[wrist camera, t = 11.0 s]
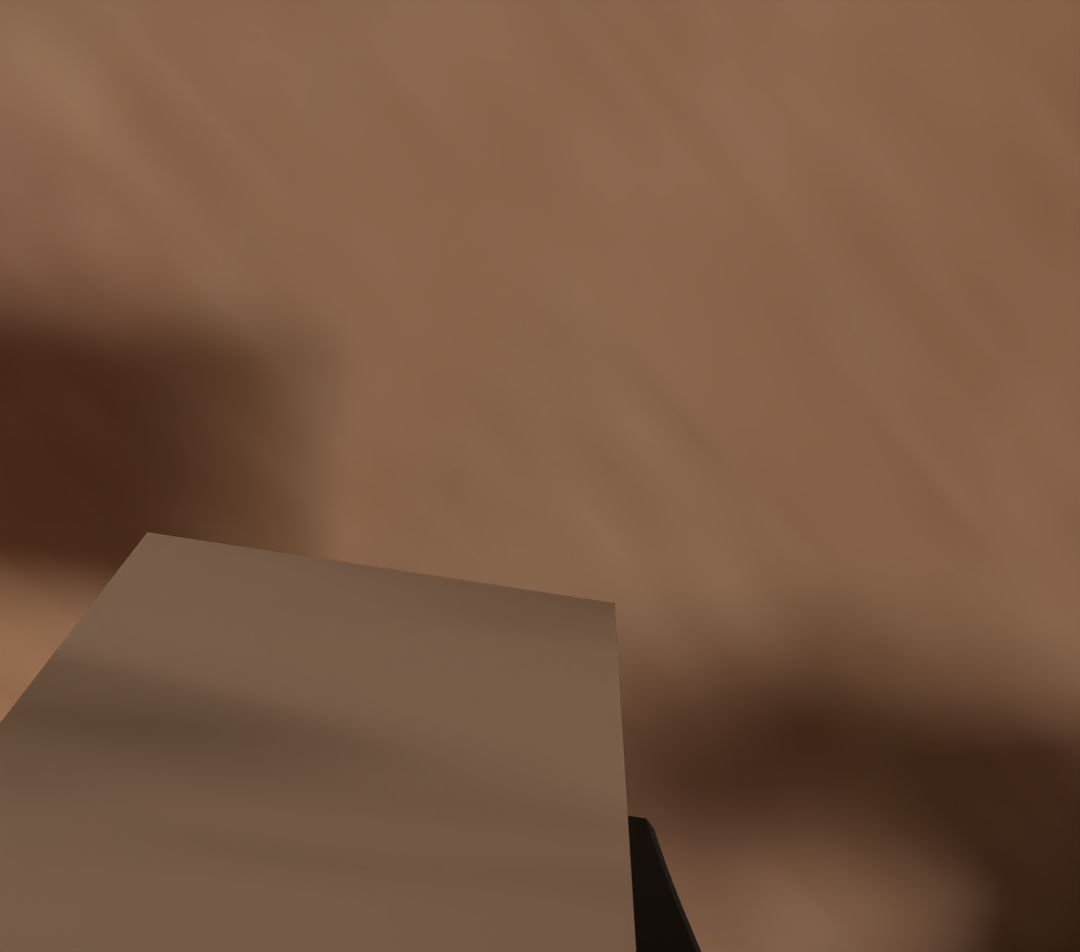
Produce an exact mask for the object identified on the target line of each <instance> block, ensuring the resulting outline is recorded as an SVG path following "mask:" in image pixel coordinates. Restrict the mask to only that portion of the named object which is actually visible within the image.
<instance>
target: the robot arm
mask: <svg viewBox="0 0 1080 952" xmlns="http://www.w3.org/2000/svg"><path fill="white" fill-rule="evenodd" d="M628 828H629V844H630V860H631V876H632V893H633V909H634V925H635V941H636V952H701V950H700V948H699V945H698V943H697V941H696V939H695V936H694V934H693V931H692V929H691V927H690V924H689V922H688V919H687V917H686V914H685V912H684V910H683V907H682V905H681V902H680V900H679V897H678V895H677V892H676V890H675V887H674V884H673V882H672V879H671V877H670V874H669V871H668V868H667V866H666V863H665V860H664V857H663V854H662V852H661V849H660V846H659V843H658V840H657V837H656V834H655V831H654V828H653V827H652V826H651V824H650V823H649V822H648V820H647V819H645V818H638V817H631V816H628Z"/></svg>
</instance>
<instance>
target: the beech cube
mask: <svg viewBox="0 0 1080 952" xmlns="http://www.w3.org/2000/svg"><path fill="white" fill-rule="evenodd" d="M0 952H636V941H635V925H634V909H633V893H632V876H631V860H630V844H629V828H628V812H627V796H626V780H625V764H624V747H623V731H622V715H621V699H620V683H619V667H618V651H617V634H616V618H615V603H610V602H603V601H597V600H590V599H584V598H577V597H570V596H564V595H557V594H551V593H544V592H538V591H531V590H524V589H518V588H511V587H505V586H498V585H491V584H485V583H478V582H472V581H465V580H459V579H452V578H445V577H439V576H432V575H426V574H419V573H412V572H406V571H399V570H393V569H386V568H380V567H373V566H366V565H360V564H353V563H347V562H340V561H334V560H327V559H320V558H314V557H307V556H301V555H294V554H287V553H281V552H274V551H268V550H261V549H255V548H248V547H241V546H235V545H228V544H222V543H215V542H208V541H202V540H195V539H189V538H182V537H176V536H169V535H162V534H156V533H149V532H147V533H146V535H145V536H144V537H143V538H142V540H141V541H140V542H139V544H138V545H137V546H136V548H135V549H134V550H133V551H132V553H131V554H130V555H129V557H128V558H127V559H126V560H125V562H124V563H123V564H122V566H121V567H120V568H119V570H118V571H117V572H116V573H115V575H114V576H113V577H112V579H111V580H110V581H109V583H108V584H107V585H106V586H105V588H104V589H103V590H102V592H101V593H100V594H99V596H98V597H97V598H96V599H95V601H94V602H93V603H92V605H91V606H90V607H89V609H88V610H87V611H86V612H85V614H84V615H83V616H82V618H81V619H80V620H79V622H78V623H77V624H76V625H75V627H74V628H73V629H72V631H71V632H70V633H69V634H68V636H67V637H66V638H65V640H64V641H63V642H62V644H61V645H60V646H59V647H58V649H57V650H56V651H55V653H54V654H53V655H52V657H51V658H50V659H49V660H48V662H47V663H46V664H45V666H44V667H43V668H42V670H41V671H40V672H39V673H38V675H37V676H36V677H35V679H34V680H33V681H32V683H31V684H30V685H29V686H28V688H27V689H26V690H25V692H24V693H23V694H22V696H21V697H20V698H19V699H18V701H17V702H16V703H15V705H14V706H13V707H12V708H11V710H10V711H9V712H8V714H7V715H6V716H5V718H4V719H3V720H2V721H1V723H0Z"/></svg>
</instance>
